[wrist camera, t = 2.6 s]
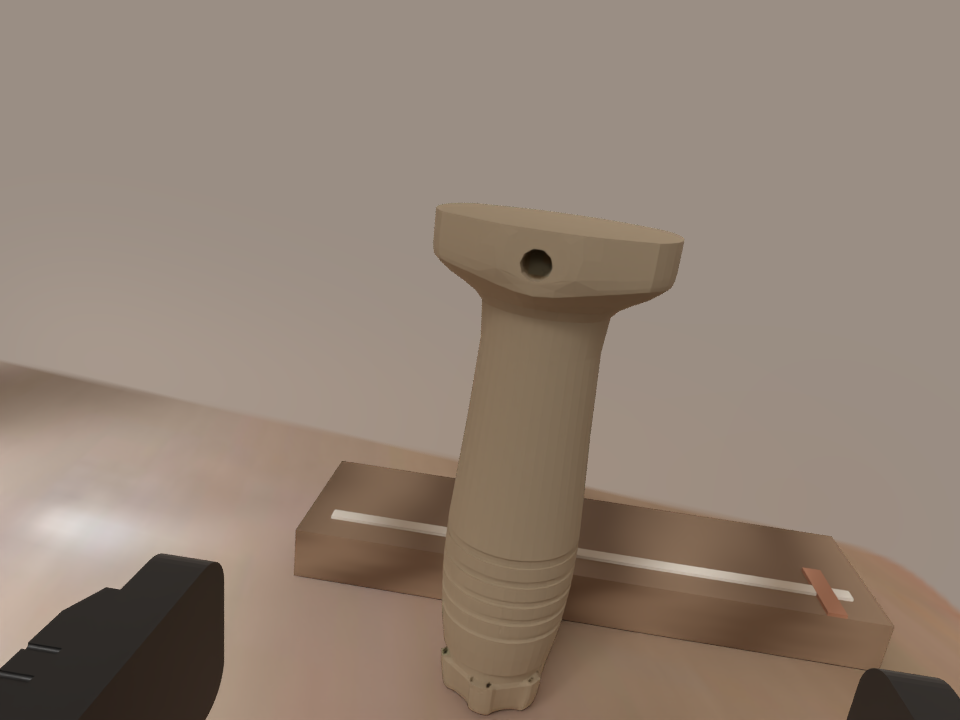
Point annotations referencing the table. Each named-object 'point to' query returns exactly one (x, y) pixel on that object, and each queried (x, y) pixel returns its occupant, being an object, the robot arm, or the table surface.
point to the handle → (529, 427)
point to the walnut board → (617, 568)
